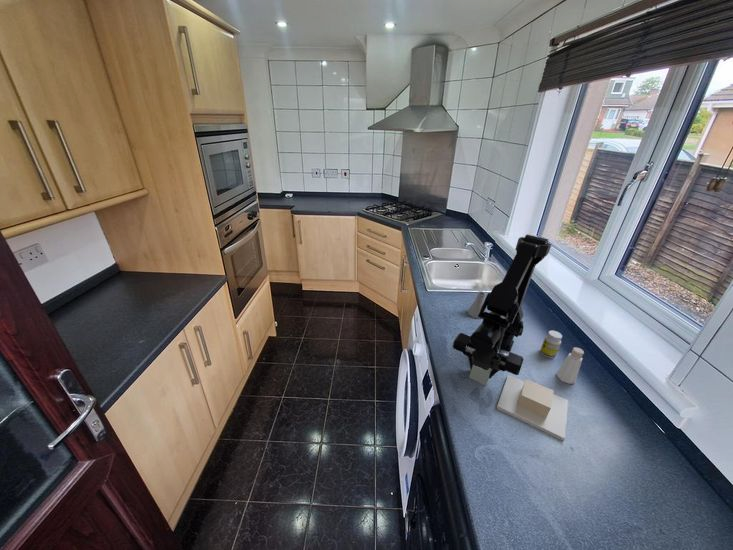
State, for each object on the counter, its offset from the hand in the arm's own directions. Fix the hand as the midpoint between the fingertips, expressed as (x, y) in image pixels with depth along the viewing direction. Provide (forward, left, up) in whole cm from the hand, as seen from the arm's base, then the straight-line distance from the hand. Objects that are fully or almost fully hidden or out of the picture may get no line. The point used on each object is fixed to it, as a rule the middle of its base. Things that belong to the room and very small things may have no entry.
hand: (480, 373), depth 91 cm
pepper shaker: (-16, +22, -1) cm, 27 cm away
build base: (+2, +15, -1) cm, 15 cm away
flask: (-34, -11, -2) cm, 36 cm away
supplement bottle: (-25, +16, -2) cm, 30 cm away
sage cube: (0, 0, -1) cm, 1 cm away
